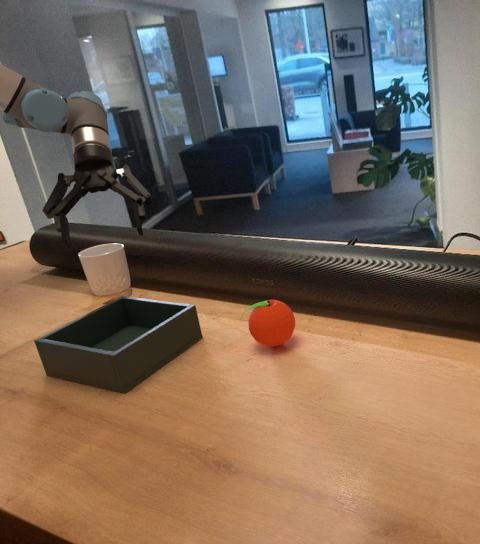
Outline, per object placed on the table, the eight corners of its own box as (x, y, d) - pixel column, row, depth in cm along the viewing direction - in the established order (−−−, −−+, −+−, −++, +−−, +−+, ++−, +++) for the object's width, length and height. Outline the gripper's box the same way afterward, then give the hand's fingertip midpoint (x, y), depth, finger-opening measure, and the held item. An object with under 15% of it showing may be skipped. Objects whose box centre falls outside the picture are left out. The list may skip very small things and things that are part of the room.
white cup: (135, 299, 96) (122, 251, 92) (90, 309, 93) (75, 259, 90) (136, 286, 103) (124, 240, 99) (95, 294, 100) (80, 248, 97)
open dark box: (46, 375, 72) (33, 340, 69) (130, 326, 85) (122, 295, 83) (125, 393, 66) (113, 355, 63) (203, 337, 79) (195, 304, 77)
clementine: (242, 358, 72) (233, 314, 69) (248, 336, 78) (240, 295, 75) (297, 352, 72) (291, 308, 69) (298, 330, 78) (292, 289, 76)
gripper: (156, 157, 114) (171, 236, 106) (34, 173, 107) (41, 258, 99) (150, 135, 108) (166, 217, 100) (20, 150, 100) (25, 239, 92)
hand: (104, 238), depth 99 cm, fingers open, 13 cm apart
